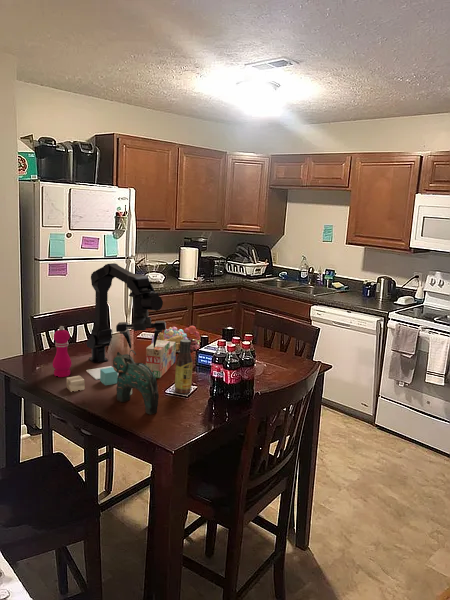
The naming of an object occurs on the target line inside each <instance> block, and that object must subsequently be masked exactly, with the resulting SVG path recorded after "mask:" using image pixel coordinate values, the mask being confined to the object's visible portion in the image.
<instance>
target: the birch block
mask: <svg viewBox="0 0 450 600" xmlns="http://www.w3.org/2000/svg"><path fill="white" fill-rule="evenodd" d="M85 386H86V385H85V379H84V378H83V377H82V376H81V375H74V376H70V377H69V376H67V377H66V388H67V389H68V391H69V392H70V393H73V392H72V391H74V392H79V391H78V390H80V391H84V390H85Z"/></svg>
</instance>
